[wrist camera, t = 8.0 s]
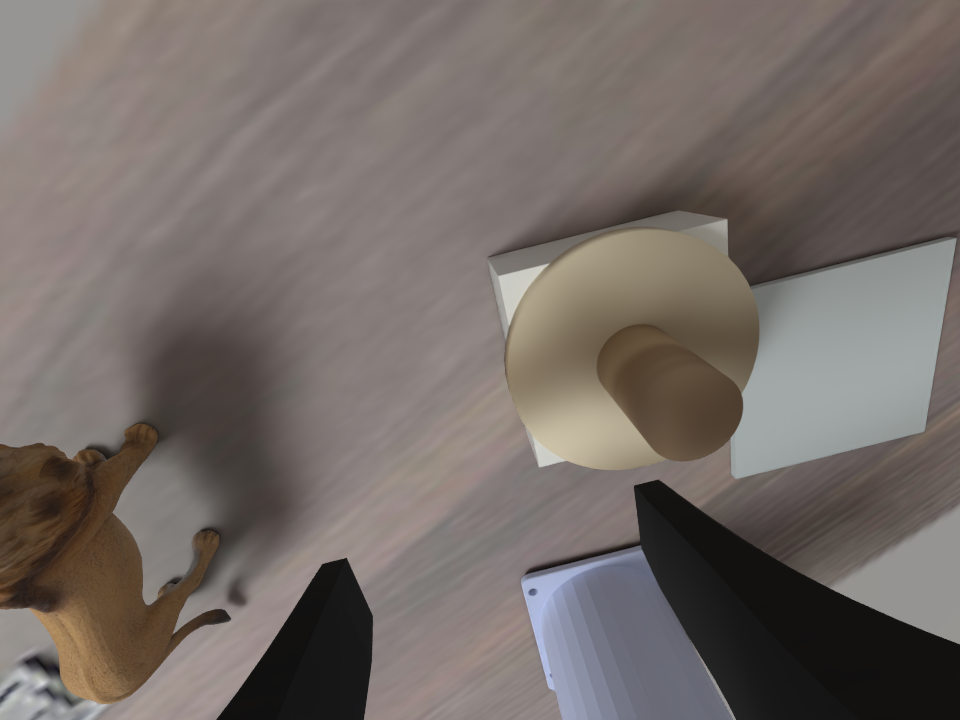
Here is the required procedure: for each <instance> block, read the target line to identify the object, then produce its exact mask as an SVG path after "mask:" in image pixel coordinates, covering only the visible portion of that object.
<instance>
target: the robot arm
mask: <svg viewBox="0 0 960 720" xmlns="http://www.w3.org/2000/svg"><path fill="white" fill-rule="evenodd" d="M634 492H635V500H636V508H637V516H638V524H639V533H640V541H641V545H640V546H636V547H632V548H629V549H625V550H621V551H617V552H613V553H609V554H605V555H601V556H597V557H593V558H589V559H585V560H581V561H577V562H573V563H569V564H565V565H561V566H557V567H553V568H549V569H545V570H541V571H537V572H533V573H529V574H527V575H525V576H524V577H523V578H522V579H521V584H522V588H523V592H524V596H525V600H526V603H527V607H528V611H529V615H530V618H531V622H532V626H533V630H534V634H535V637H536V641H537V645H538V649H539V653H540V656H541V660H542V664H543V668H544V671H545V675H546V679H547V683H548V687H549V688H550V689H551V690H555V691H556V695H557V699H558V704H559V708H560V712H561V716H562V720H733V718H732V716H731V715H730V713H729V711H728V709H727V707H726V705H725V704H724V702H723V700H722V698H721V697H720V695H719V693H718V691H717V689H716V687H715V685H714V684H713V682H712V680H711V678H710V676H709V675H708V673H707V671H706V669H705V667H704V665H703V664H702V662H701V660H700V658H699V656H698V654H697V653H696V651H695V649H694V647H693V645H692V644H691V642H690V640H689V638H690V639H691V641H692V643H693V644H694V646H695V648H696V649H697V651H698V653H699V654H700V656H701V658H702V659H703V661H704V663H705V664H706V666H707V668H708V669H709V671H710V672H711V674H712V676H713V677H714V679H715V680H716V683H717V684H718V686H719V688H720V690H721V692H722V693H723V695H724V697H725V699H726V701H727V702H728V704H729V706H730V708H731V710H732V712H733V714H734V716H735V718H736V720H960V644H957V643H955V642H952V641H949V640H947V639H944V638H942V637H939V636H936V635H934V634H931V633H928V632H926V631H924V630H921V629H919V628H916V627H914V626H912V625H909V624H907V623H904V622H902V621H899V620H897V619H895V618H892V617H890V616H888V615H886V614H884V613H881V612H879V611H877V610H875V609H872V608H870V607H868V606H866V605H864V604H861V603H859V602H856V601H854V600H852V599H850V598H848V597H846V596H844V595H842V594H840V593H838V592H836V591H834V590H832V589H830V588H828V587H826V586H824V585H822V584H820V583H818V582H816V581H814V580H812V579H810V578H809V577H807V576H805V575H803V574H801V573H799V572H797V571H795V570H794V569H792V568H790V567H788V566H787V565H785V564H783V563H781V562H780V561H778V560H776V559H775V558H773V557H771V556H770V555H768V554H766V553H765V552H763V551H761V550H760V549H758V548H756V547H755V546H753V545H752V544H750V543H748V542H747V541H745V540H744V539H742V538H741V537H739V536H738V535H736V534H735V533H733V532H732V531H730V530H729V529H727V528H726V527H724V526H723V525H721V524H720V523H718V522H717V521H715V520H714V519H712V518H711V517H709V516H708V515H706V514H705V513H704V512H702V511H701V510H699V509H698V508H697V507H695V506H694V505H693V504H691V503H690V502H688V501H687V500H686V499H684V498H683V497H682V496H680V495H679V494H678V493H676V492H675V491H674V490H672V489H671V488H669V487H668V486H667V485H665V484H664V483H663V482H661V481H659V480H655V481H651V482H647V483H643V484H639V485H635V486H634ZM530 589H533V590H530ZM679 621H680V622H679ZM682 626H683V627H682ZM683 628H684V629H683ZM684 630H685V631H686V633H687V634H688V636H689V638H688V636H687V634H686V633H685V631H684ZM372 638H373V615H372V613H371V611H370V609H369V607H368V604H367V602H366V600H365V598H364V595H363V593H362V591H361V589H360V587H359V584H358V582H357V580H356V578H355V575H354V573H353V571H352V569H351V567H350V564H349V562H348V560H347V558H345V559H341V560H337V561H333V562H329V563H325V564H322V565H321V567H320V569H319V570H318V572H317V573H316V575H315V576H314V578H313V579H312V581H311V582H310V584H309V586H308V587H307V589H306V590H305V592H304V594H303V595H302V597H301V598H300V600H299V602H298V603H297V605H296V606H295V608H294V609H293V611H292V613H291V614H290V616H289V617H288V619H287V620H286V622H285V623H284V625H283V627H282V628H281V630H280V631H279V633H278V634H277V636H276V637H275V639H274V640H273V642H272V643H271V645H270V646H269V648H268V649H267V651H266V652H265V654H264V655H263V657H262V658H261V659H260V661H259V662H258V664H257V665H256V667H255V668H254V669H253V671H252V672H251V674H250V675H249V676H248V678H247V679H246V681H245V682H244V684H243V685H242V686H241V688H240V689H239V691H238V692H237V693H236V695H235V696H234V697H233V699H232V700H231V701H230V703H229V704H228V705H227V707H226V708H225V709H224V710H223V712H222V713H221V714H220V716H219V717H218V718H217V719H216V720H364V714H365V707H366V700H367V693H368V686H369V678H370V671H371V663H372Z"/></svg>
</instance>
